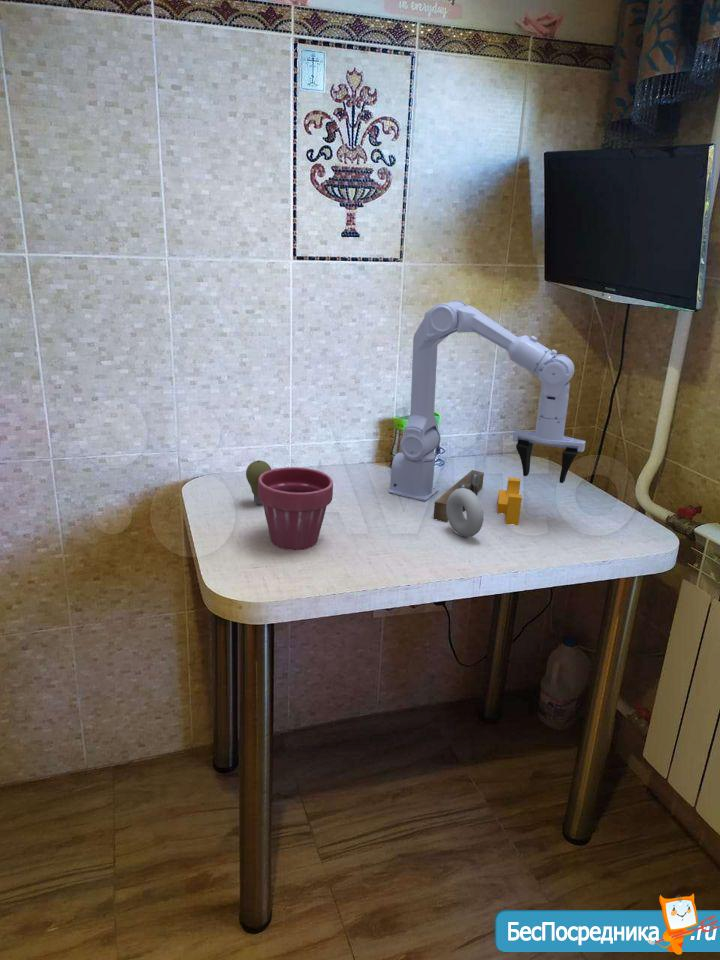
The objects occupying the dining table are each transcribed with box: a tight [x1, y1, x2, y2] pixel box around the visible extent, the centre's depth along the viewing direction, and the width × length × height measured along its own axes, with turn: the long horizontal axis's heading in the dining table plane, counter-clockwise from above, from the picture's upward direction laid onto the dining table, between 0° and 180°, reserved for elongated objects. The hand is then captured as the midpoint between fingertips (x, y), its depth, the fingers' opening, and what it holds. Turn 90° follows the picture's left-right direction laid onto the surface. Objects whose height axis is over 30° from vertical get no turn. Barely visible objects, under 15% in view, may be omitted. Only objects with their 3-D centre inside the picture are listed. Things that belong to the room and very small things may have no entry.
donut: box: [446, 488, 485, 538], centre depth 143 cm, size 10×3×10 cm, turn 30°
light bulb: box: [245, 459, 273, 506], centre depth 153 cm, size 6×6×10 cm
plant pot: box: [258, 466, 334, 551], centre depth 137 cm, size 14×14×13 cm
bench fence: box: [433, 469, 485, 523], centre depth 160 cm, size 4×24×6 cm, turn 153°
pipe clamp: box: [496, 477, 523, 526], centre depth 156 cm, size 12×4×6 cm, turn 170°
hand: (543, 478), depth 150 cm, fingers open, 7 cm apart
